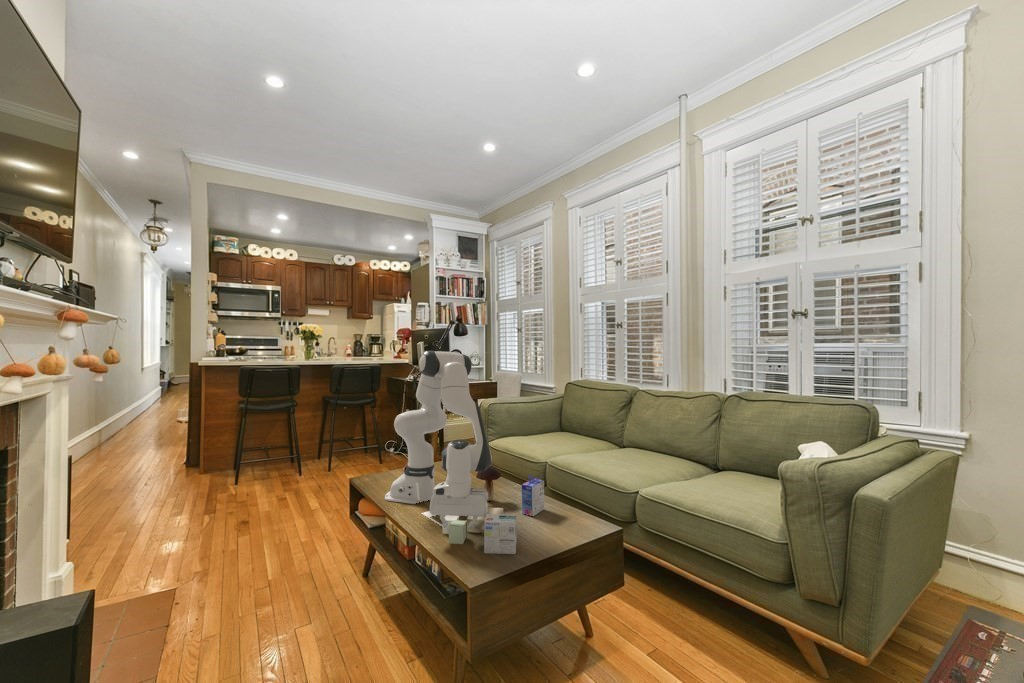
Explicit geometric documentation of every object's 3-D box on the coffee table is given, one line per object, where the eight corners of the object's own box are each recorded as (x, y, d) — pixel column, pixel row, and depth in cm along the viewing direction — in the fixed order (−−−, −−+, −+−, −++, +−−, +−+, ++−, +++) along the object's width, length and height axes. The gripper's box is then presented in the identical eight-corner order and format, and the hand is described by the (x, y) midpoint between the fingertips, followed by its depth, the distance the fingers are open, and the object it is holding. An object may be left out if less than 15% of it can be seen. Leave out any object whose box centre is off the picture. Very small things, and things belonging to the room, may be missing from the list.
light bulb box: (516, 545, 148) (516, 513, 148) (516, 554, 142) (516, 521, 142) (485, 544, 149) (485, 512, 149) (483, 553, 142) (483, 521, 142)
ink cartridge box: (533, 506, 183) (533, 472, 184) (544, 509, 180) (545, 474, 180) (520, 514, 175) (521, 478, 175) (532, 517, 172) (533, 480, 172)
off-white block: (442, 533, 157) (442, 520, 157) (445, 528, 162) (446, 514, 162) (456, 534, 156) (456, 520, 156) (459, 528, 161) (459, 515, 161)
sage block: (448, 543, 149) (448, 525, 149) (452, 536, 154) (452, 520, 154) (462, 544, 149) (463, 526, 149) (465, 537, 154) (466, 520, 154)
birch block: (466, 532, 158) (466, 519, 158) (472, 519, 170) (473, 506, 170) (499, 534, 157) (499, 520, 157) (503, 520, 169) (503, 508, 169)
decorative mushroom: (491, 507, 182) (491, 471, 182) (470, 501, 188) (471, 467, 188) (506, 499, 191) (506, 465, 191) (486, 494, 197) (486, 461, 197)
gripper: (489, 485, 154) (489, 525, 154) (433, 484, 156) (433, 522, 155) (486, 491, 147) (486, 532, 147) (428, 489, 149) (428, 530, 149)
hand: (458, 527), depth 151 cm, fingers open, 8 cm apart
